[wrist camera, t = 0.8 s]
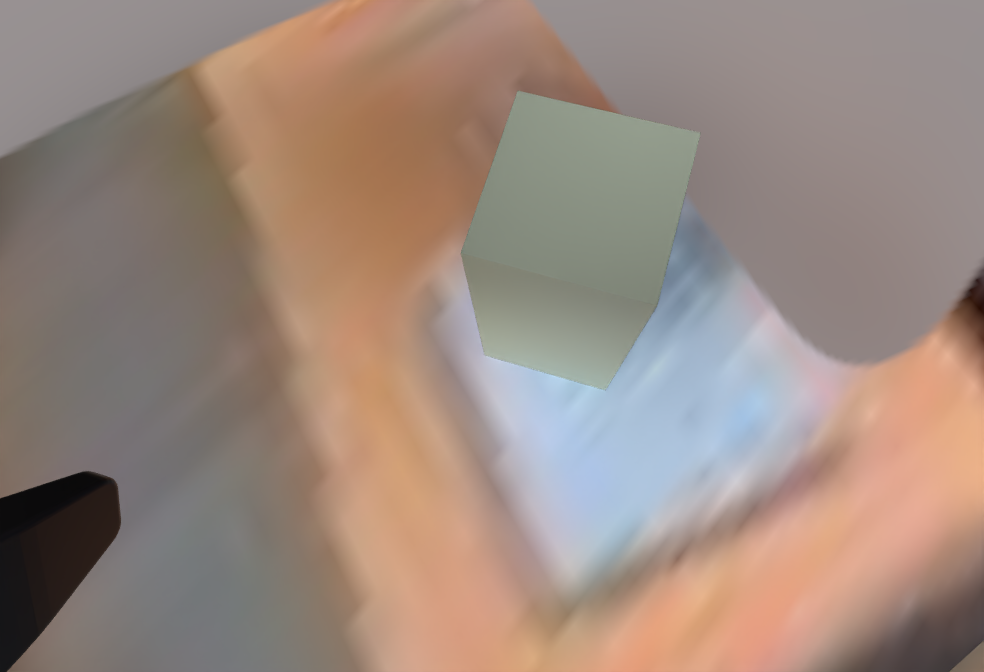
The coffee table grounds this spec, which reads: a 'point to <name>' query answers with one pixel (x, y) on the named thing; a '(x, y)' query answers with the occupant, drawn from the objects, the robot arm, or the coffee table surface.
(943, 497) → the coffee table surface
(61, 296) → the coffee table surface
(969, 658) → the tower base slab
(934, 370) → the coffee table surface
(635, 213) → the sage block
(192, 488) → the coffee table surface
